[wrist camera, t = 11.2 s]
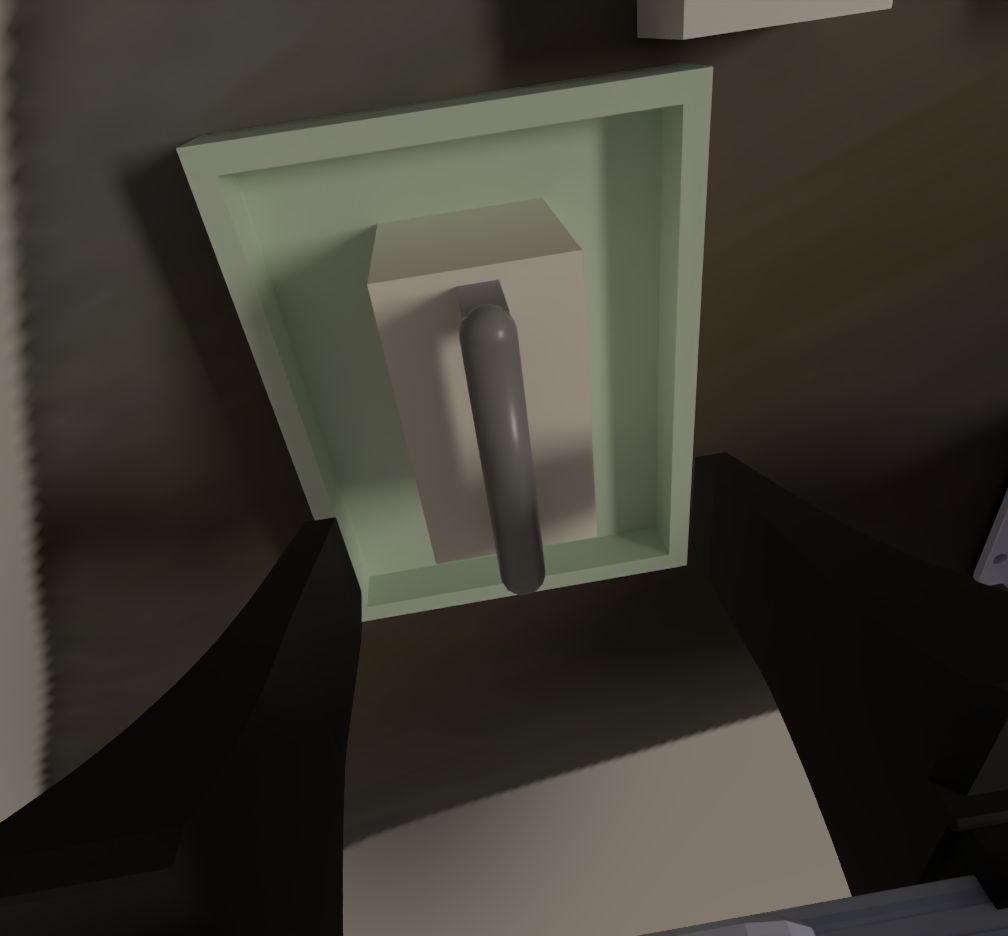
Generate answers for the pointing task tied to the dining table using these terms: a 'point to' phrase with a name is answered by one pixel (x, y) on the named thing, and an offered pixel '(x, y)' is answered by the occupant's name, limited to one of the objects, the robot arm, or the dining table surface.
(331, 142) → the tray
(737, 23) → the bay
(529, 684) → the dining table surface
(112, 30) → the dining table surface
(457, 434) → the block with grey handle
